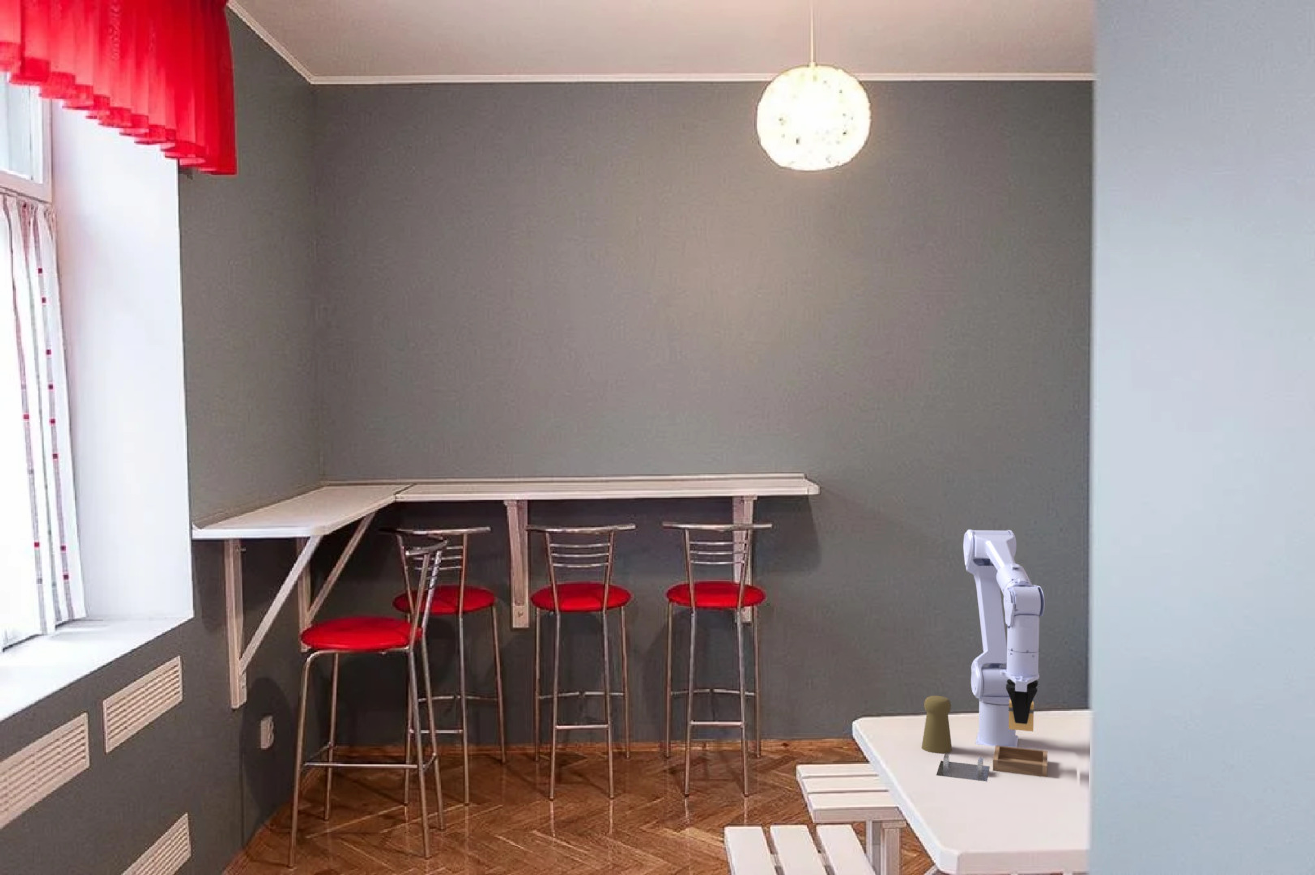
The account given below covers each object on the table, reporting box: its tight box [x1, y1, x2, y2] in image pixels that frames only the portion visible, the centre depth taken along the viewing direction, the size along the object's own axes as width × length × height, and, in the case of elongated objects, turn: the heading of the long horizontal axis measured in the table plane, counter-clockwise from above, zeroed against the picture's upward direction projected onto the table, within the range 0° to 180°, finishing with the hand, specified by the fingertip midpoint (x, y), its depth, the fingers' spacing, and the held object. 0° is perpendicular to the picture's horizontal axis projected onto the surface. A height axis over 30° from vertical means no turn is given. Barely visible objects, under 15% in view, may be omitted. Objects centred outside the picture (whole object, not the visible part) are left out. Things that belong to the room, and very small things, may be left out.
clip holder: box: [935, 753, 990, 782], centre depth 207 cm, size 9×9×3 cm
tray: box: [992, 745, 1048, 778], centre depth 210 cm, size 10×10×3 cm
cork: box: [921, 695, 953, 754], centre depth 220 cm, size 6×6×11 cm
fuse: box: [1009, 699, 1035, 732], centre depth 210 cm, size 3×4×5 cm, turn 70°
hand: (1021, 720), depth 210 cm, fingers closed on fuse, 3 cm apart
